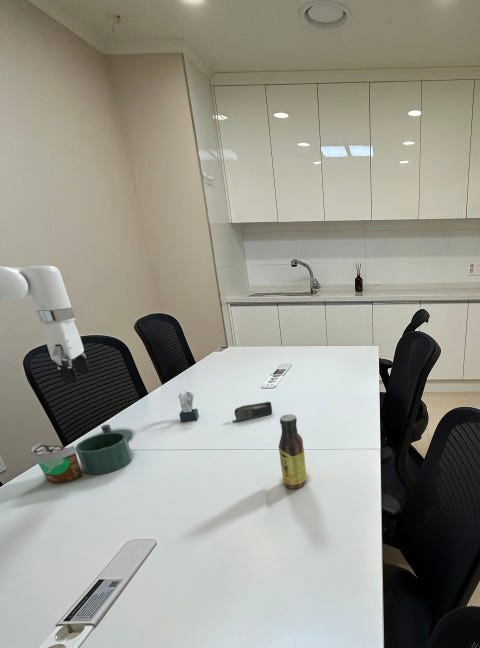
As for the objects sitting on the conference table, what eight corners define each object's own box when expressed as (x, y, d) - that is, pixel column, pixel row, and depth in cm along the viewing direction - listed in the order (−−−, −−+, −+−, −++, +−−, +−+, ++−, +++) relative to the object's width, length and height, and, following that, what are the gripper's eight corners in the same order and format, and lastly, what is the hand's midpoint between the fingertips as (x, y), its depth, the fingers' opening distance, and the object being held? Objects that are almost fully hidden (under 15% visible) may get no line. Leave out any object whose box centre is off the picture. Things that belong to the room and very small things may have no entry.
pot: (77, 478, 109) (68, 455, 106) (92, 457, 120) (84, 436, 117) (126, 470, 112) (119, 447, 109) (136, 450, 123) (130, 429, 120)
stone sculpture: (199, 414, 149) (193, 387, 145) (196, 422, 142) (189, 394, 138) (184, 415, 148) (177, 388, 144) (179, 424, 141) (172, 396, 137)
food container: (31, 483, 107) (16, 452, 103) (52, 472, 113) (39, 441, 109) (66, 488, 104) (53, 456, 100) (86, 476, 110) (74, 445, 106)
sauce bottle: (282, 479, 106) (273, 413, 98) (305, 475, 108) (297, 409, 100) (285, 492, 100) (276, 423, 92) (309, 487, 102) (302, 419, 94)
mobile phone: (269, 400, 148) (229, 408, 141) (272, 402, 146) (231, 410, 138) (271, 412, 150) (231, 420, 143) (273, 414, 148) (233, 423, 140)
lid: (80, 453, 122) (74, 438, 120) (94, 435, 134) (88, 421, 132) (127, 446, 126) (122, 431, 124) (137, 429, 138) (132, 415, 135)
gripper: (53, 312, 109) (73, 370, 116) (23, 322, 94) (49, 388, 101) (84, 310, 111) (102, 367, 118) (60, 320, 96) (82, 385, 103)
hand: (77, 377), depth 109 cm, fingers open, 9 cm apart
